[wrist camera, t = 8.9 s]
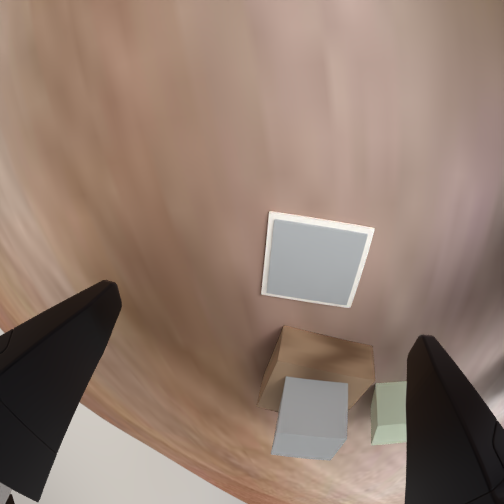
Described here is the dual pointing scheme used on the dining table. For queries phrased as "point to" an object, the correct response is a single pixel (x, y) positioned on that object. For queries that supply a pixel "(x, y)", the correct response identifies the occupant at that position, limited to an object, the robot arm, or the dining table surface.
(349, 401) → the walnut base
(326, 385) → the grey cube
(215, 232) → the dining table surface
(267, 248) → the tile
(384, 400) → the sage cube
